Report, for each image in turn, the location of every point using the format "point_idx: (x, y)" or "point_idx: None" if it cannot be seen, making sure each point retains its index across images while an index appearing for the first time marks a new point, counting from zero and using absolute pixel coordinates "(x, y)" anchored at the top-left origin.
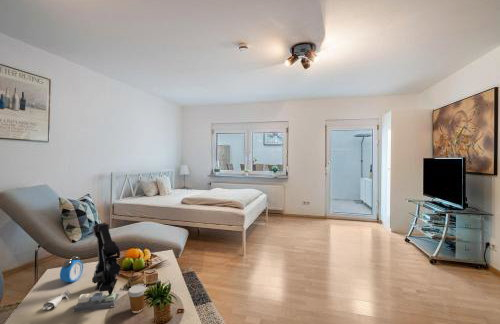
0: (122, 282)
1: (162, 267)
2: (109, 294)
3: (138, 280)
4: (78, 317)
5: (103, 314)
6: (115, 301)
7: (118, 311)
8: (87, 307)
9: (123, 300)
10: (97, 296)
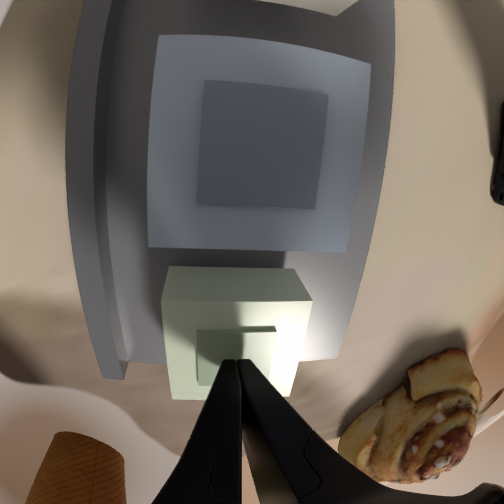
0: (493, 305)
1: None
2: (222, 365)
3: (385, 470)
4: (17, 30)
5: (12, 272)
6: None
7: (58, 376)
8: (81, 50)
9: None
10: (157, 170)
